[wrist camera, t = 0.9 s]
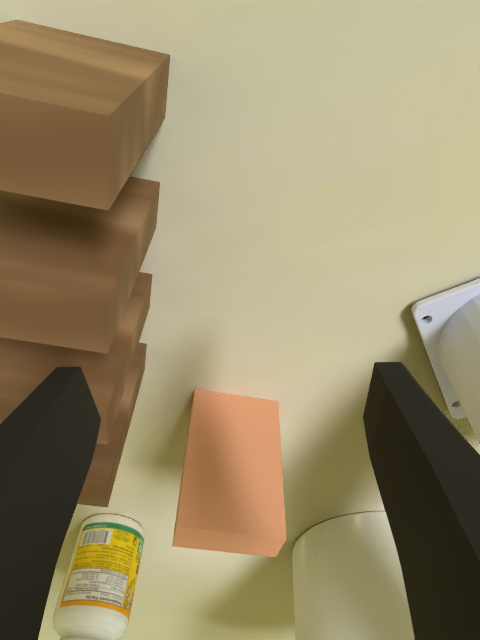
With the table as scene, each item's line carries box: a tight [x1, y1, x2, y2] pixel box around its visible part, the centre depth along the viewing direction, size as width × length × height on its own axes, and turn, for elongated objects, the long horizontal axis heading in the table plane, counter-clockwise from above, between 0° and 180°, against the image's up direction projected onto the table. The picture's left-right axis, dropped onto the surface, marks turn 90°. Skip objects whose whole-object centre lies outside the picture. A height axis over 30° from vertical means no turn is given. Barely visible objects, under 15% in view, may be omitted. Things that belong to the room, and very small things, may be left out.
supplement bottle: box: [53, 514, 144, 640], centre depth 32 cm, size 5×5×10 cm
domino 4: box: [77, 343, 147, 507], centre depth 20 cm, size 2×5×8 cm, turn 79°
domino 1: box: [0, 20, 170, 211], centre depth 12 cm, size 2×5×8 cm, turn 79°
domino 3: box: [0, 272, 152, 445], centre depth 17 cm, size 2×5×8 cm, turn 79°
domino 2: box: [0, 176, 160, 354], centre depth 15 cm, size 2×5×8 cm, turn 79°
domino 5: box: [172, 389, 287, 557], centre depth 23 cm, size 2×5×8 cm, turn 79°
